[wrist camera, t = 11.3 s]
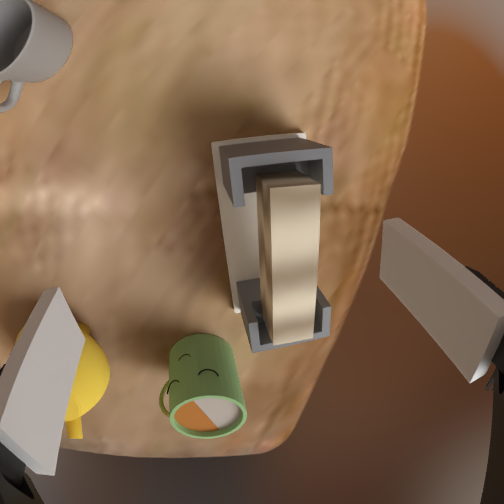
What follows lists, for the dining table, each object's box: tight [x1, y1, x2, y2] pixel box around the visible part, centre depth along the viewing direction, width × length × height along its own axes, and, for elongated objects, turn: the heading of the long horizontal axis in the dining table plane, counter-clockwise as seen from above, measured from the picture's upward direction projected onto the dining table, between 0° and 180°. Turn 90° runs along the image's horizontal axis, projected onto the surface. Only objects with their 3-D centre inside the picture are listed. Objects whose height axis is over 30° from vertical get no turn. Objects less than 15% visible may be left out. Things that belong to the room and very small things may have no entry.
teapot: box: [14, 323, 110, 439], centre depth 38 cm, size 20×16×14 cm
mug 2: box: [159, 334, 247, 439], centre depth 43 cm, size 13×10×12 cm
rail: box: [255, 171, 321, 346], centre depth 33 cm, size 17×4×6 cm, turn 3°
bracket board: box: [211, 132, 333, 353], centre depth 37 cm, size 23×11×10 cm, turn 5°
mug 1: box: [0, 0, 73, 113], centre depth 22 cm, size 12×8×11 cm
